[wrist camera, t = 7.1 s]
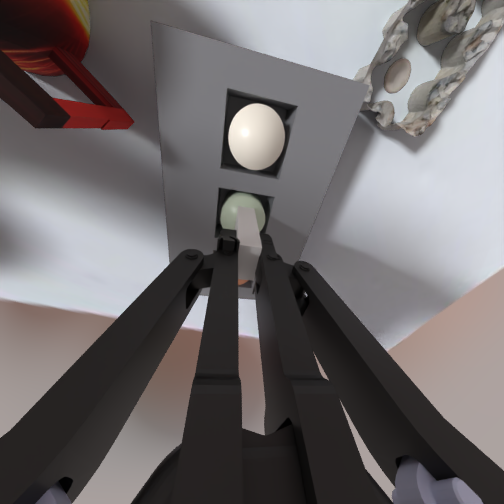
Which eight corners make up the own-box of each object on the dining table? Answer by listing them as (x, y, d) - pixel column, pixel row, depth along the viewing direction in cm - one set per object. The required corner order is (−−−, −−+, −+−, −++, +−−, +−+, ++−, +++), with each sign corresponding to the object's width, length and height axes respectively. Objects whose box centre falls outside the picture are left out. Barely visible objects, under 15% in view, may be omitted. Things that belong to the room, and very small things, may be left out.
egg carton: (385, 141, 19) (416, 144, 16) (334, 93, 17) (358, 85, 13) (500, 3, 14) (581, -35, 11) (452, -94, 12) (538, -183, 8)
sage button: (221, 222, 21) (218, 236, 18) (224, 184, 18) (222, 193, 16) (257, 227, 21) (260, 241, 19) (265, 191, 19) (269, 201, 16)
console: (182, 267, 26) (171, 293, 22) (175, 51, 14) (150, 20, 10) (275, 276, 28) (281, 301, 24) (337, 95, 17) (369, 85, 12)
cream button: (227, 159, 17) (225, 164, 14) (233, 102, 15) (232, 96, 12) (270, 167, 18) (276, 174, 15) (282, 114, 15) (292, 111, 13)
